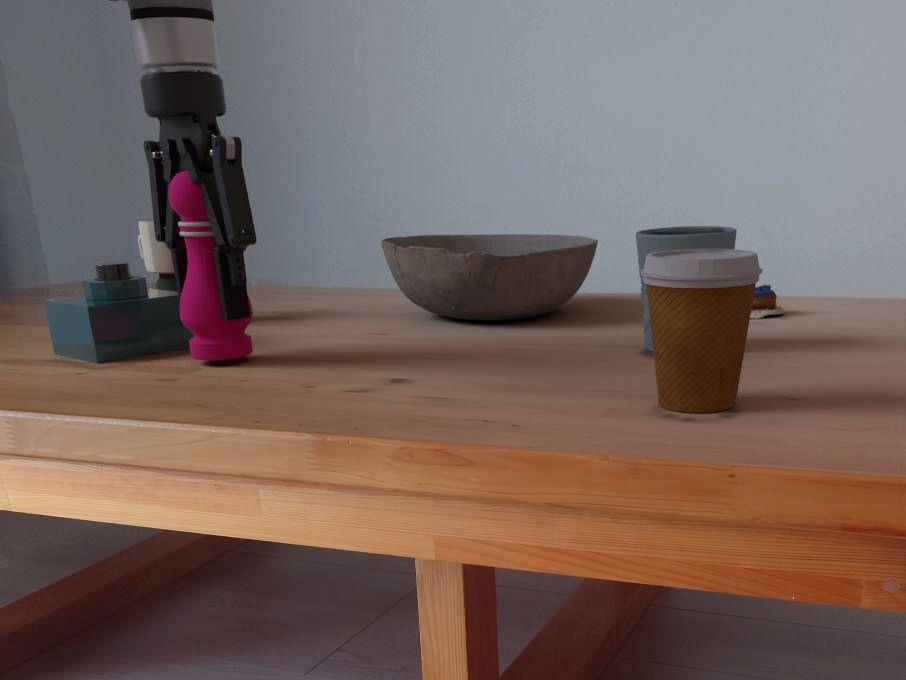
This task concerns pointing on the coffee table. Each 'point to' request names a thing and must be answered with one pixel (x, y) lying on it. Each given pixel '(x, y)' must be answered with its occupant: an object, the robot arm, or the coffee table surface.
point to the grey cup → (677, 240)
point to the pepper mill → (204, 281)
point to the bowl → (489, 272)
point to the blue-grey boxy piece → (116, 321)
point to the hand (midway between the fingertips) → (215, 315)
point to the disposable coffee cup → (699, 324)
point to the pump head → (112, 271)
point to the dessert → (764, 302)
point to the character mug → (156, 256)
